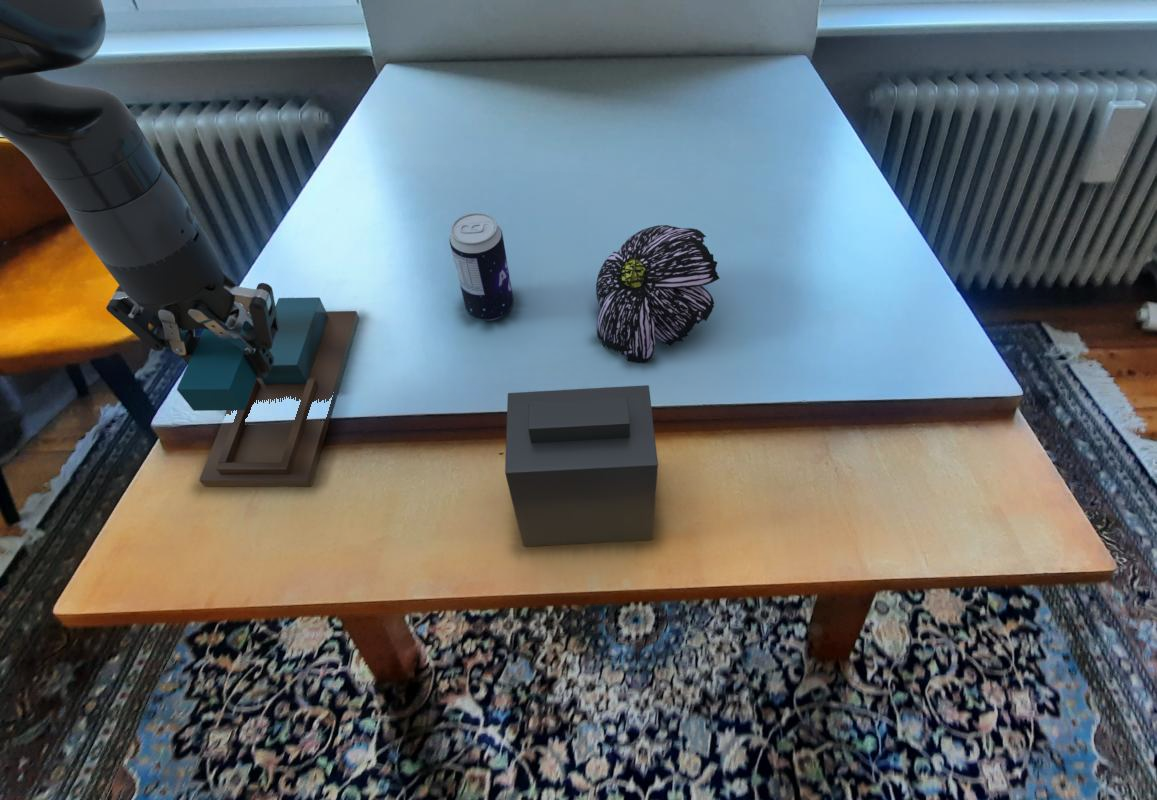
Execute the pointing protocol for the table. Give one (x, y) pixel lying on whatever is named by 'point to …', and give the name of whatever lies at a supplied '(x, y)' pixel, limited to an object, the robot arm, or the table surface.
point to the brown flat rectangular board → (301, 369)
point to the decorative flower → (654, 290)
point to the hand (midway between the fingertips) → (237, 370)
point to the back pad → (217, 376)
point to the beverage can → (481, 266)
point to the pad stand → (582, 465)
